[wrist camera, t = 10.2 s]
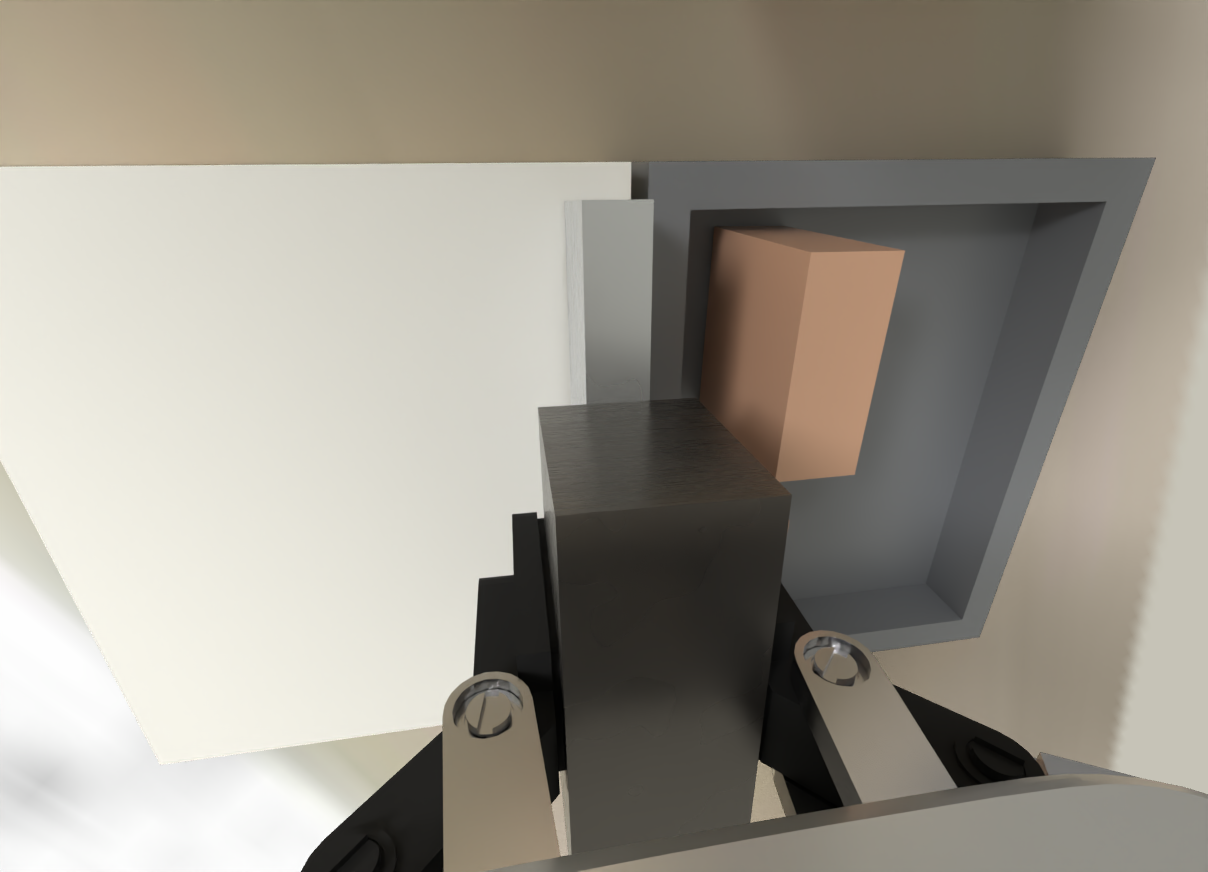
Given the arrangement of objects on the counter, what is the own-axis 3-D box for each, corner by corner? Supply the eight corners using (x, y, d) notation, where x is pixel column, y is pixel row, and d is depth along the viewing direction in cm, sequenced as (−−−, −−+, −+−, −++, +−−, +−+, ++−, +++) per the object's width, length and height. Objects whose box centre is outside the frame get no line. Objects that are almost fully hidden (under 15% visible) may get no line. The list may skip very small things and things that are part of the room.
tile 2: (811, 252, 11) (905, 250, 11) (714, 226, 15) (783, 225, 16) (775, 482, 13) (854, 474, 13) (699, 401, 17) (760, 396, 18)
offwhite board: (-16, 166, 13) (-153, 168, 10) (607, 162, 15) (631, 162, 12) (206, 683, 20) (159, 765, 17) (609, 632, 22) (624, 698, 19)
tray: (626, 161, 15) (649, 161, 12) (1067, 158, 17) (1156, 157, 14) (622, 631, 22) (636, 684, 19) (934, 592, 23) (979, 637, 21)
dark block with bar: (520, 201, 12) (540, 198, 5) (661, 200, 12) (830, 195, 6) (552, 729, 18) (580, 1031, 11) (648, 716, 18) (727, 999, 12)
